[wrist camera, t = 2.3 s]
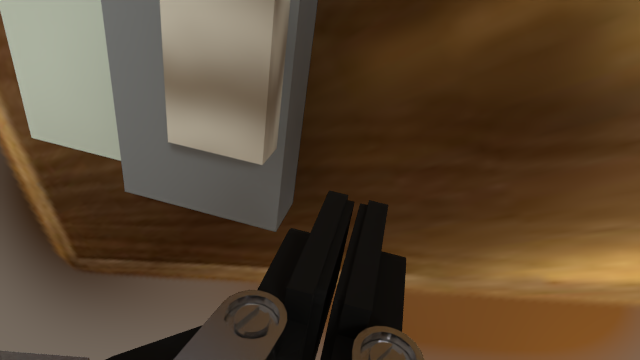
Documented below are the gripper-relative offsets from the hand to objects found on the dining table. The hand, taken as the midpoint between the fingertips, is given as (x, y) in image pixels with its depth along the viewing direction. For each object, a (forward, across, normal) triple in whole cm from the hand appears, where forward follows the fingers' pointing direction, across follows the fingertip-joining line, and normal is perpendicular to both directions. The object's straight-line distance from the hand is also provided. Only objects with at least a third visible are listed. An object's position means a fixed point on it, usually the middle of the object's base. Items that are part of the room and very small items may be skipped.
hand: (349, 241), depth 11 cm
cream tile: (+13, +9, -1) cm, 16 cm away
